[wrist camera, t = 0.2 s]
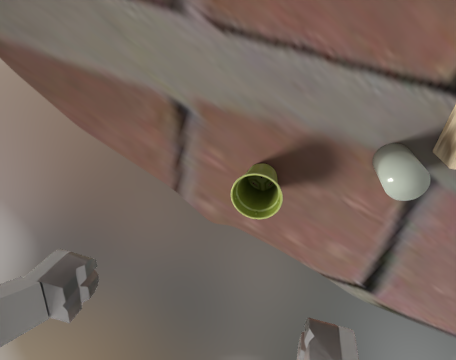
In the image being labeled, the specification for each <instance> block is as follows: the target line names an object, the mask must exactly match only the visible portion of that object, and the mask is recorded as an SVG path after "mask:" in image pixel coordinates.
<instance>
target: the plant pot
mask: <svg viewBox="0 0 456 360" xmlns="http://www.w3.org/2000/svg"><path fill="white" fill-rule="evenodd" d="M261 176H262V177H263V178H262V179H261ZM252 182H254V183H255V184H256V185H258V186H255V185H254V184H253V183H252ZM271 182H273V184H272V185H270V186H268V185H269V184H270V183H271ZM231 200H232V203H233V205H234V206H235V208H236V209H237V210H238V211H239V212H240V213H241V214H243V215H244V216H247V217H249V218H252V219H266V218H269V217H271V216H273V215H274V214H275V213H276V212H277V211H278V210H279V209H280V207H281V205H282V201H283V194H282V190H281V188H280V186H279V185H278V180H277V174H276V171H275V170H274V169H273V168H272V167H271V166H270V165H268V164H255V165H253V166H252V167H251V168H250V169H249V170H248V172H247V173H246V174H245V175H243V176H241V177H240V178H238V179H237V180H236V181H235V183H234V184H233V186H232V189H231Z"/></svg>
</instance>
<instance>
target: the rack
mask: <svg viewBox="0 0 456 360" xmlns="http://www.w3.org/2000/svg"><path fill="white" fill-rule="evenodd" d="M432 152H433V153H434V154H435V155H436V156H437V157H438V158H439V159H440V160H441V161H442V162H444V163H445V164H446V165H447V166H448V167H449V168H450V169H455V170H456V105H455V107H454V109H453V111H452V113H451V115H450V117H449V119H448V121H447V123H446V125H445V127H444V129H443V131H442V133H441V135H440V137H439V139H438V141H437V143H436V145H435V147H434V149H433V151H432Z"/></svg>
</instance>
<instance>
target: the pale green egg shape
mask: <svg viewBox="0 0 456 360" xmlns="http://www.w3.org/2000/svg"><path fill="white" fill-rule="evenodd" d="M372 163H373V167H374V169H375V171H376V173H377V175H378V177H379V180H380V182H381V184H382V186H383V188H384V190H385V192H386V193H387V194H388V195H389V196H390V197H392V198H393V199H396V200H401V201H407V200H412V199H415V198H417V197H419V196H421V195H422V194H423V193H424V192H425V191H426V190H427V189H428V187H429V185H430V175H429V173H428V171H427V170H426V169H425V167H424V166H423V165H422V164H421V163H420V162H419V160H418V159H417V158H416V157H415V156H414V154H413V153H412V152H411V151H410V150H409V149H408V148H407V147H406V146H404V145H402V144H398V143H391V144H387V145H385V146H383V147H381V148H380V149H378V150H377V152H376V153H375V154H374V156H373V161H372Z"/></svg>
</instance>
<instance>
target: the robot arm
mask: <svg viewBox="0 0 456 360" xmlns="http://www.w3.org/2000/svg"><path fill="white" fill-rule="evenodd" d="M96 267H97V262H96V260H95V259H93V258H89V257H86V256H82V255H79V254H76V253H73V252H70V251H66V250H63V249H58V250H55V251H54V252H53V253H52V254H51V255H49V256H48V257H47V258H46V259H45V260H44V261H43V262H41V263H40V264H39V265H38V266H37V267H36V268H34V269H33V270H32V271H31V272H30V273H29V274H28V275H26V276H25V277H18V278H15V279H13V280H10V281H7V282H5V283H2V284H0V347H2V346H3V345H5V344H7V343H8V342H10V341H12V340H14V339H15V338H17V337H19V336H20V335H22V334H24V333H26V332H27V331H29V330H31V329H32V328H34V327H36V326H37V325H39V324H41V323H42V322H44V321H46V320H48V319H49V317H50V318H53V319H57V320H61V321H64V322H67V323H70V322H71V321H72V320H73V319H74V318H75V316H76V315H77V314H78V313H79V311H80V310H81V309H82V302H84V301H86V300H88V299H90V298H91V296H92V295H93V294H94V293H95V290H96V288H97V286H98V282H99V276H98V274H97V272H96V271H95V270H94V269H95V268H96ZM297 360H359V358H358V351H357V345H356V340H355V333H354V331H353V330H352V329H348V328H344V327H341V326H337V325H334V324H330V323H327V322H323V321H319V320H315V319H311V318H307V319H306V322H305V331H304V332H302V333H301V336H300V339H299V344H298V352H297Z"/></svg>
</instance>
